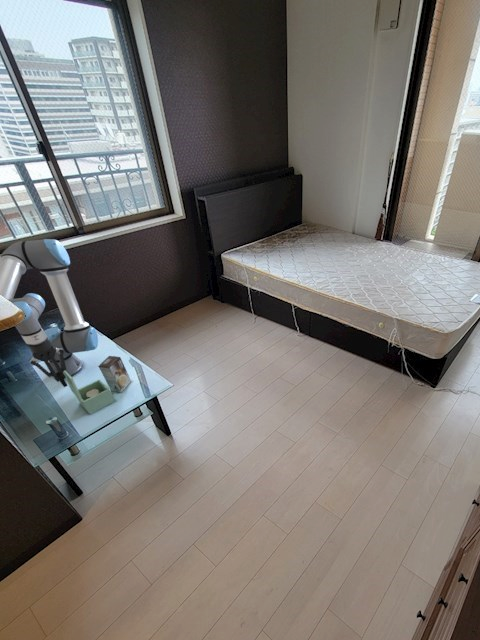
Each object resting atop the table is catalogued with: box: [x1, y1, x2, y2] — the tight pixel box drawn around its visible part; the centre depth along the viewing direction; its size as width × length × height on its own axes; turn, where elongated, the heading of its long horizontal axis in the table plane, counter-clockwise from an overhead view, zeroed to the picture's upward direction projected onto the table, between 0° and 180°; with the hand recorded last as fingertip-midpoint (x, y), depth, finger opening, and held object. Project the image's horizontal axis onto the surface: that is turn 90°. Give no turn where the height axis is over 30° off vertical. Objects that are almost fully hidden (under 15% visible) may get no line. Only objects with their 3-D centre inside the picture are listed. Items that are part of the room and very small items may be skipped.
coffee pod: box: [86, 389, 99, 398], centre depth 166 cm, size 6×6×6 cm
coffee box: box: [97, 355, 132, 393], centre depth 172 cm, size 9×6×16 cm
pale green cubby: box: [74, 379, 116, 415], centre depth 166 cm, size 13×11×8 cm
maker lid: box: [63, 371, 83, 402], centre depth 155 cm, size 13×11×1 cm
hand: (64, 385), depth 153 cm, fingers closed
